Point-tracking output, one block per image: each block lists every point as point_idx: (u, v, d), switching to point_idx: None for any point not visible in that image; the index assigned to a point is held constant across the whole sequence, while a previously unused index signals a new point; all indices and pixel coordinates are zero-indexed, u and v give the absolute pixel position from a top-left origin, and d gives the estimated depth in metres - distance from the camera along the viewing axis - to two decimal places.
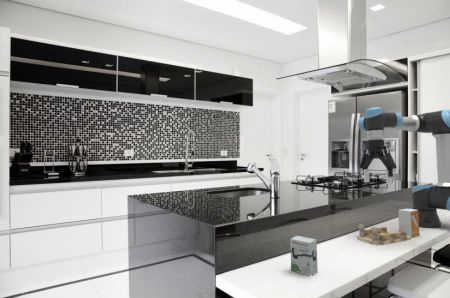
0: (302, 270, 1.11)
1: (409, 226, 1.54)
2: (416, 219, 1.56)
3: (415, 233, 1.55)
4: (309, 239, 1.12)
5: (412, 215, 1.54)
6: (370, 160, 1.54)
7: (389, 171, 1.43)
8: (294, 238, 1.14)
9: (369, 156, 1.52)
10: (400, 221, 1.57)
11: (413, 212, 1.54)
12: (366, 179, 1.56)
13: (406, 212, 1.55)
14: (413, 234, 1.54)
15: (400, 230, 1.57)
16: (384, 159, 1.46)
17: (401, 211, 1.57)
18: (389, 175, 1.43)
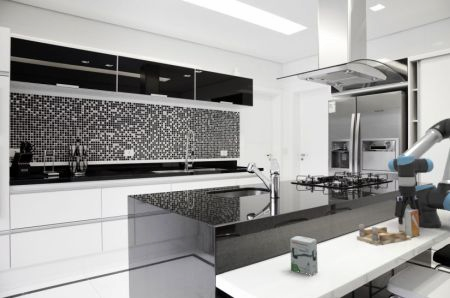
0: (302, 270, 1.11)
1: (409, 226, 1.54)
2: (416, 219, 1.56)
3: (415, 233, 1.55)
4: (309, 239, 1.12)
5: (412, 215, 1.54)
6: (411, 205, 1.59)
7: None
8: (294, 238, 1.14)
9: None
10: None
11: (412, 212, 1.54)
12: None
13: (406, 212, 1.55)
14: (413, 234, 1.54)
15: (400, 230, 1.57)
16: None
17: None
18: None
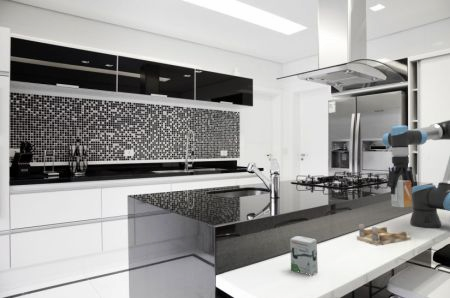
0: (302, 270, 1.11)
1: (401, 196, 1.53)
2: (409, 189, 1.55)
3: (407, 203, 1.54)
4: (309, 239, 1.12)
5: (404, 185, 1.53)
6: (404, 176, 1.58)
7: None
8: (294, 238, 1.14)
9: None
10: None
11: (405, 182, 1.54)
12: None
13: (399, 182, 1.54)
14: (405, 204, 1.53)
15: (392, 201, 1.56)
16: (394, 177, 1.56)
17: None
18: None
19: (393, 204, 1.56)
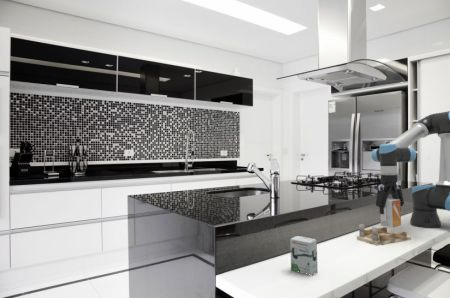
0: (302, 270, 1.11)
1: (390, 215, 1.50)
2: (398, 209, 1.52)
3: (396, 223, 1.51)
4: (309, 239, 1.12)
5: (393, 205, 1.50)
6: (393, 195, 1.55)
7: None
8: (294, 238, 1.14)
9: None
10: None
11: (394, 202, 1.50)
12: None
13: (387, 202, 1.51)
14: (394, 224, 1.50)
15: (381, 220, 1.53)
16: (383, 196, 1.53)
17: None
18: None
19: (382, 224, 1.53)
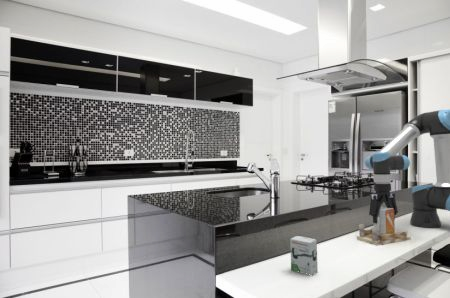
0: (302, 270, 1.11)
1: (383, 225, 1.48)
2: (392, 218, 1.51)
3: (389, 232, 1.49)
4: (309, 239, 1.12)
5: (386, 214, 1.48)
6: (387, 204, 1.53)
7: None
8: (294, 238, 1.14)
9: None
10: None
11: (387, 211, 1.49)
12: None
13: (381, 211, 1.49)
14: (388, 233, 1.48)
15: None
16: (376, 205, 1.51)
17: None
18: None
19: None
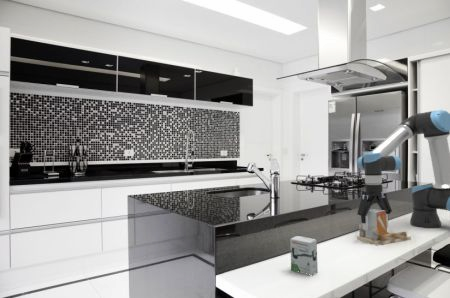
0: (302, 270, 1.11)
1: None
2: (383, 220, 1.49)
3: None
4: (309, 239, 1.12)
5: (378, 216, 1.46)
6: (379, 204, 1.52)
7: None
8: (294, 238, 1.14)
9: None
10: None
11: (379, 213, 1.47)
12: None
13: (372, 213, 1.47)
14: None
15: (366, 232, 1.50)
16: (366, 205, 1.49)
17: None
18: None
19: (367, 235, 1.49)
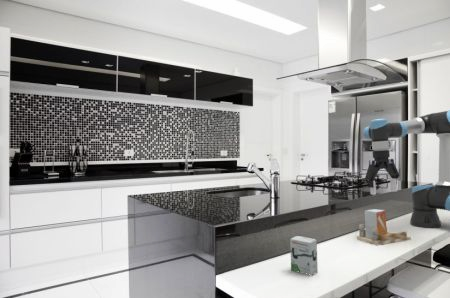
0: (302, 270, 1.11)
1: None
2: (383, 220, 1.49)
3: None
4: (309, 239, 1.12)
5: (378, 216, 1.46)
6: (387, 170, 1.54)
7: None
8: (294, 238, 1.14)
9: None
10: (366, 222, 1.50)
11: (379, 213, 1.47)
12: (392, 188, 1.55)
13: (372, 213, 1.47)
14: None
15: (366, 232, 1.50)
16: (374, 170, 1.51)
17: (367, 212, 1.49)
18: None
19: (367, 235, 1.49)
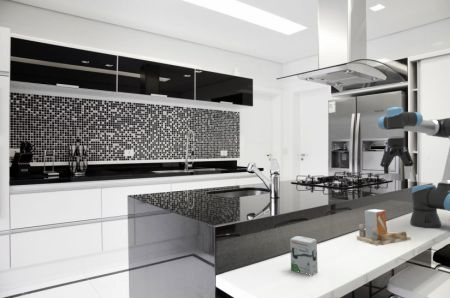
0: (302, 270, 1.11)
1: None
2: (383, 220, 1.49)
3: None
4: (309, 239, 1.12)
5: (378, 216, 1.46)
6: (402, 157, 1.58)
7: None
8: (294, 238, 1.14)
9: None
10: (366, 222, 1.50)
11: (379, 213, 1.47)
12: (406, 176, 1.59)
13: (372, 213, 1.47)
14: None
15: (366, 232, 1.50)
16: (389, 157, 1.55)
17: (367, 212, 1.49)
18: None
19: (367, 235, 1.49)
